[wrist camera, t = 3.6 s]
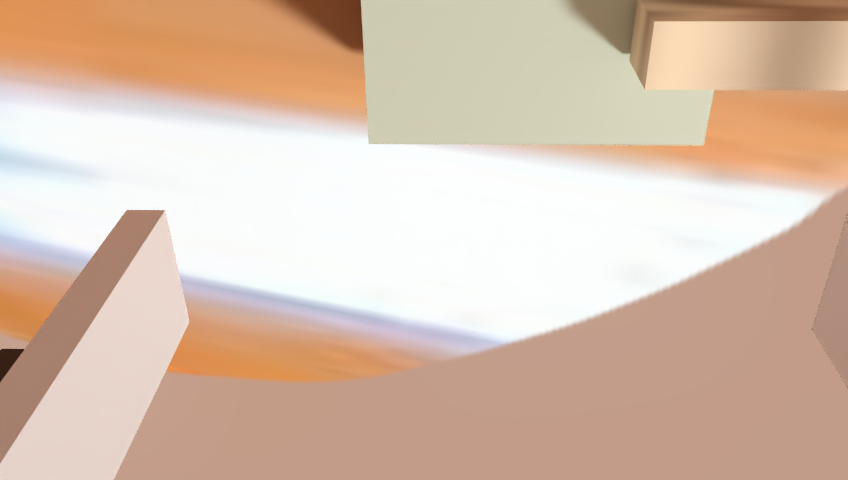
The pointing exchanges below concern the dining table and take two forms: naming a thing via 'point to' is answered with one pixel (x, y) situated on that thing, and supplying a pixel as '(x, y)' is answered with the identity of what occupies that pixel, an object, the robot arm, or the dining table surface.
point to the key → (741, 44)
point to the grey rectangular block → (516, 76)
